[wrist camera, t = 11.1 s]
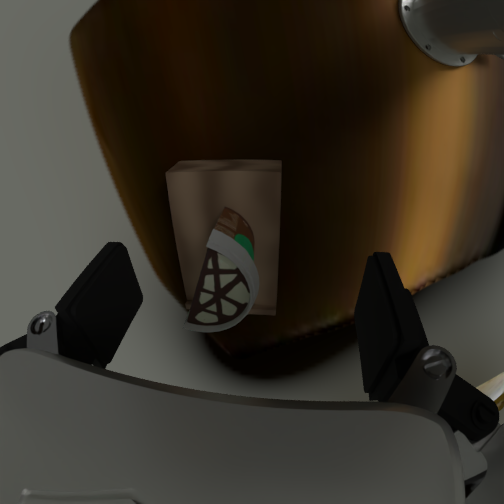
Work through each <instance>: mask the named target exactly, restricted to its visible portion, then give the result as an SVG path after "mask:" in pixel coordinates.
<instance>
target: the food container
mask: <svg viewBox="0 0 504 504" xmlns="http://www.w3.org/2000/svg"><path fill="white" fill-rule="evenodd" d="M254 244H255V241H254V235H253V231H252V229H251V227H250V225H249V224H248V222H247V221H246V220H245V219H244V218H243V217H242V216H241V215H240V214H239V213H237V212H236V211H234V210H232V209H230V208H228V207H224V209H223V211H222V213H221V215H220V217H219V219H218V222H217V224H216V226H215V228H214V229H213V230H212V233H211V235H210V237H209V240H208V243H207V245H206V247H208V248H207V253H206V256H205V259H204V263H203V266H202V269H201V272H200V276H199V280H198V283H197V286H196V290H195V294H194V297H193V301H192V304H191V307H190V310H189V313H188V316H187V319H186V322H185V324H184V327H183V328H184V329H188V330H192V331H198V332H217V331H222V330H225V329H228V328H230V327H232V326H235V325H236V324H237V323H239V322H240V321H241V320H242V319H243V318H244V317H245V316H246V315H247V314H248V313H249V311H250V309H251V308H252V306H253V304H254V302H255V300H256V297H257V295H258V291H259V275H258V271H257V268H256V266H255V264H254Z"/></svg>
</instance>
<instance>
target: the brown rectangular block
mask: <svg viewBox="0 0 504 504" xmlns="http://www.w3.org/2000/svg"><path fill="white" fill-rule="evenodd" d="M281 167H282V160H195V161H179V162H178V163H177V164H176V165H174V166H173V167H172V168H171V169H169V170H168V171H167V172H166V181H167V188H168V195H169V202H170V209H171V216H172V222H173V228H174V234H175V240H176V246H177V251H178V257H179V262H180V267H181V273H182V278H183V283H184V288H185V292H186V297H187V301H186V303H185V306H186V309H190V307H191V304H192V301H193V297H194V294H195V290H196V286H197V283H198V280H199V276H200V272H201V269H202V266H203V263H204V259H205V256H206V253H207V248H208V247H206V245H207V243H208V240H209V237H210V235H211V233H212V230H213V229H214V228H215V226H216V224H217V222H218V219H219V217H220V215H221V213H222V211H223V209H224V207H228V208H230V209H232V210H234V211H236V212H237V213H239V214H240V215H241V216H242V217H243V218H244V219H245V220H246V221H247V222H248V224H249V225H250V227H251V229H252V231H253V235H254V241H255V244H254V264H255V266H256V268H257V271H258V275H259V291H258V295H257V297H256V300H255V302H254V304H253V306H252V308H251V309H250V311H249V313H248V314H259V315H276V301H277V282H278V260H279V236H280V207H281Z"/></svg>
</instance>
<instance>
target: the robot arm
mask: <svg viewBox="0 0 504 504" xmlns="http://www.w3.org/2000/svg"><path fill="white" fill-rule="evenodd" d="M405 9H406V10H405ZM399 14H400V18H401V21H402V23H403V26H404V28H405V30H406V32H407V33H408V35H409V37H410V38H411V39H412V41H413V42H414V43H415V44H416V45H417V47H418V48H419V49H420V50H421V51H422V52H424V53H425V54H426V55H427V56H429V57H430V58H432V59H433V60H435V61H437V62H439V63H441V64H444V65H448V66H464V65H467V64H469V63H471V62H472V61H473V60H474V59H475V58H476V56H477V55H478V54H492V55H496V56H497V57H499V58H501V59H504V0H399ZM425 46H426V47H425ZM426 48H427V49H426ZM142 302H143V295H142V292H141V289H140V286H139V283H138V281H137V278H136V275H135V272H134V269H133V266H132V263H131V260H130V257H129V254H128V251H127V248H126V247H125V246H124V245H123V244H122V243H121V242H108V243H107V244H106V245H105V246H104V247H103V248H102V250H101V251H100V252H99V253H98V254H97V255H96V256H95V258H94V259H93V260H92V261H91V262H90V263H89V265H88V266H87V267H86V268H85V269H84V271H83V272H82V273H81V274H80V275H79V277H78V278H77V279H76V280H75V282H74V283H73V284H72V285H71V287H70V288H69V290H68V291H67V292H66V293H65V294H64V296H63V297H62V298H61V300H60V301H59V302H58V304H57V305H56V306H55V309H56V310H57V312H58V314H57V315H56V316H55V314H54V313H53V312H51V311H44V312H41V313H39V314H37V315H36V316H35V317H33V319H32V320H31V321H30V323H29V325H28V329H27V334H26V335H24V336H22V337H20V338H18V339H16V340H14V341H12V342H9V343H7V344H5V345H4V346H2V347H0V504H504V424H502V425H500V424H499V423H498V422H499V411H498V407H497V405H496V404H495V402H494V401H493V400H492V399H491V398H489V397H488V396H486V395H485V394H483V393H482V392H481V391H479V390H478V389H476V388H475V387H473V386H472V385H471V384H469V383H468V382H466V381H465V380H463V379H462V378H461V377H459V376H458V375H456V370H457V368H456V362H455V359H454V357H453V356H452V354H451V353H450V352H449V351H447V350H446V349H445V348H443V347H440V346H435V345H432V346H429V344H428V341H427V338H426V335H425V331H424V328H423V326H422V323H421V320H420V317H419V314H418V311H417V309H416V306H415V303H414V301H413V298H412V295H411V293H410V291H409V290H408V289H404V286H403V284H402V281H401V279H400V276H399V274H398V271H397V269H396V266H395V264H394V262H393V259H392V257H391V255H390V253H387V252H374V253H373V256H369V257H368V259H367V264H366V268H365V272H364V276H363V280H362V284H361V288H360V292H359V296H358V300H357V303H356V307H355V312H354V318H355V324H356V331H357V337H358V344H359V352H360V359H361V367H362V376H363V386H364V391H365V393H369V400H370V401H371V400H372V401H373V400H378V402H356V401H349V402H345V401H343V402H341V401H340V402H338V401H337V402H336V401H300V400H298V401H297V400H280V399H266V398H265V399H264V398H255V397H245V396H236V395H228V394H221V393H213V392H206V391H200V390H194V389H188V388H183V387H178V386H172V385H167V384H162V383H158V382H153V381H149V380H145V379H140V378H136V377H132V376H128V375H124V374H120V373H117V372H113V371H109V370H106V369H105V368H106V366H107V364H108V363H110V362H111V361H112V359H113V357H114V355H115V353H116V351H117V349H118V347H119V345H120V343H121V341H122V339H123V337H124V335H125V333H126V332H127V330H128V328H129V326H130V324H131V322H132V320H133V318H134V317H135V315H136V313H137V311H138V309H139V308H140V306H141V304H142Z"/></svg>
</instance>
